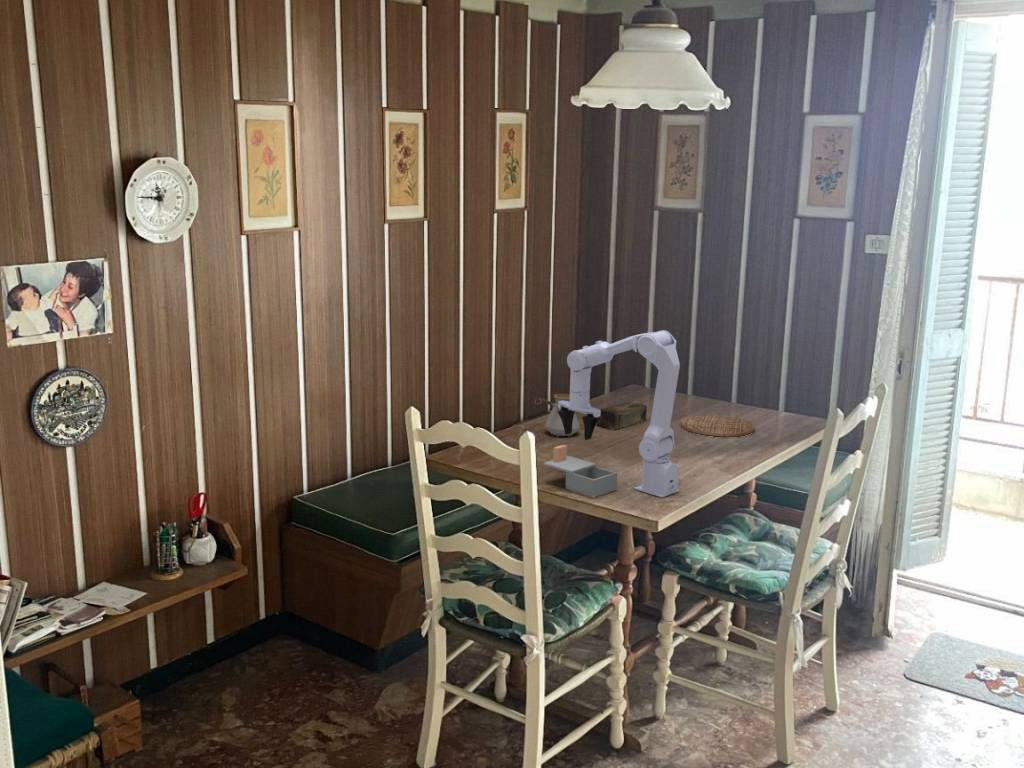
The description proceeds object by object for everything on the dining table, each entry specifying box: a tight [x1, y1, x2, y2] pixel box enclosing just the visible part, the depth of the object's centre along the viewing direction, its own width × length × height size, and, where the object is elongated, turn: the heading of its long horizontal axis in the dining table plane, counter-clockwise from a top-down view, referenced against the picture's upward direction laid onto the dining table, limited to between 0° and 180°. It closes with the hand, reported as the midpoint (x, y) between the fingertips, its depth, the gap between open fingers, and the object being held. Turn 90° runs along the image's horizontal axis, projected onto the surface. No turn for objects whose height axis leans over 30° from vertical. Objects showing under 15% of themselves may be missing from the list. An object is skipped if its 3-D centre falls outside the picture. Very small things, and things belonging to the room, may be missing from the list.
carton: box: [564, 465, 618, 499], centre depth 278 cm, size 10×10×5 cm
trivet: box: [679, 414, 756, 438], centre depth 346 cm, size 25×25×2 cm
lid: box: [543, 444, 597, 473], centre depth 283 cm, size 10×10×5 cm
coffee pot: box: [534, 393, 581, 437], centre depth 329 cm, size 21×12×15 cm, turn 145°
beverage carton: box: [596, 400, 648, 431], centre depth 348 cm, size 8×19×7 cm, turn 137°
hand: (577, 436), depth 293 cm, fingers open, 7 cm apart
